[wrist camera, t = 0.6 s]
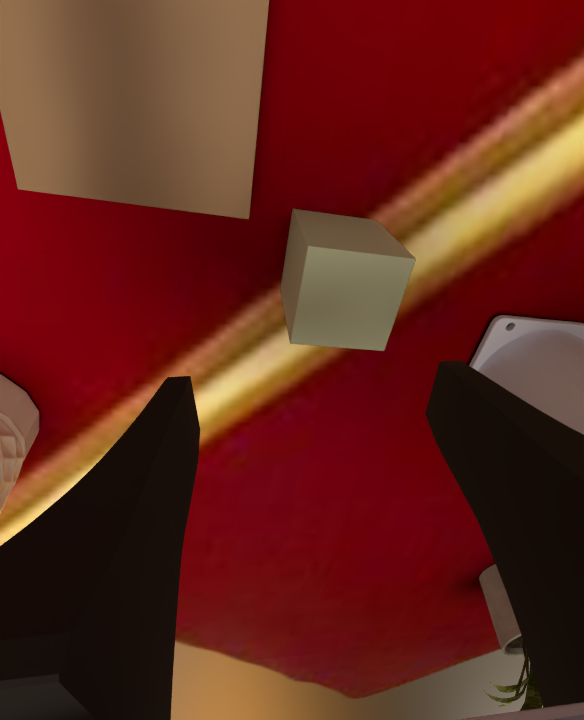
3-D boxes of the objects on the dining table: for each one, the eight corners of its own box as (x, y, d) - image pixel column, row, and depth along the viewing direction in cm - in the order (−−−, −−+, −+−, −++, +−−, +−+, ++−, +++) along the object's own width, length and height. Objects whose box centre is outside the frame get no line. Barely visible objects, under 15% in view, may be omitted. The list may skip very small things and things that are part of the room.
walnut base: (270, -53, 13) (276, -84, 10) (248, 200, 17) (248, 219, 15) (1, -121, 11) (-64, -176, 9) (52, 173, 16) (18, 188, 14)
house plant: (534, 510, 34) (718, 777, 21) (605, 548, 40) (783, 776, 27) (415, 583, 40) (501, 828, 27) (492, 607, 46) (593, 819, 33)
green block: (376, 220, 18) (416, 259, 14) (355, 297, 20) (384, 350, 16) (292, 208, 17) (308, 246, 13) (280, 290, 20) (290, 343, 16)
